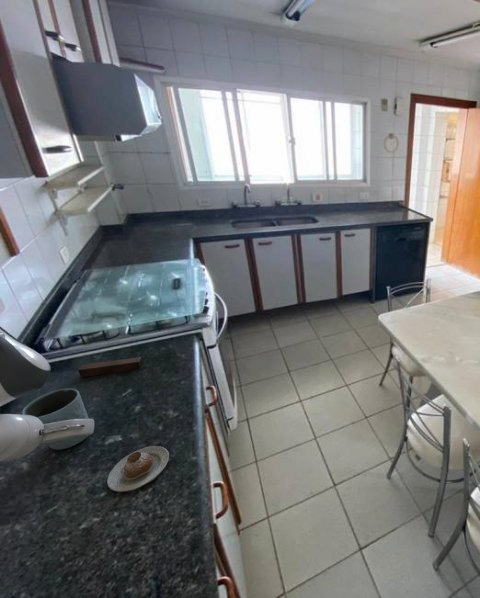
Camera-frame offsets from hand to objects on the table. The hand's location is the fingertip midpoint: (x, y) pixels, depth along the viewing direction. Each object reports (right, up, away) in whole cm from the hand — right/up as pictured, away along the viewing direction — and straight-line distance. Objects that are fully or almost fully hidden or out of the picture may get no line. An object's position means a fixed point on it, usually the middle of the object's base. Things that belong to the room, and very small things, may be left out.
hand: (53, 436), depth 79 cm
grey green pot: (-2, -3, +7) cm, 8 cm away
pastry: (+22, -8, 0) cm, 23 cm away
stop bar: (-13, +9, +32) cm, 35 cm away
